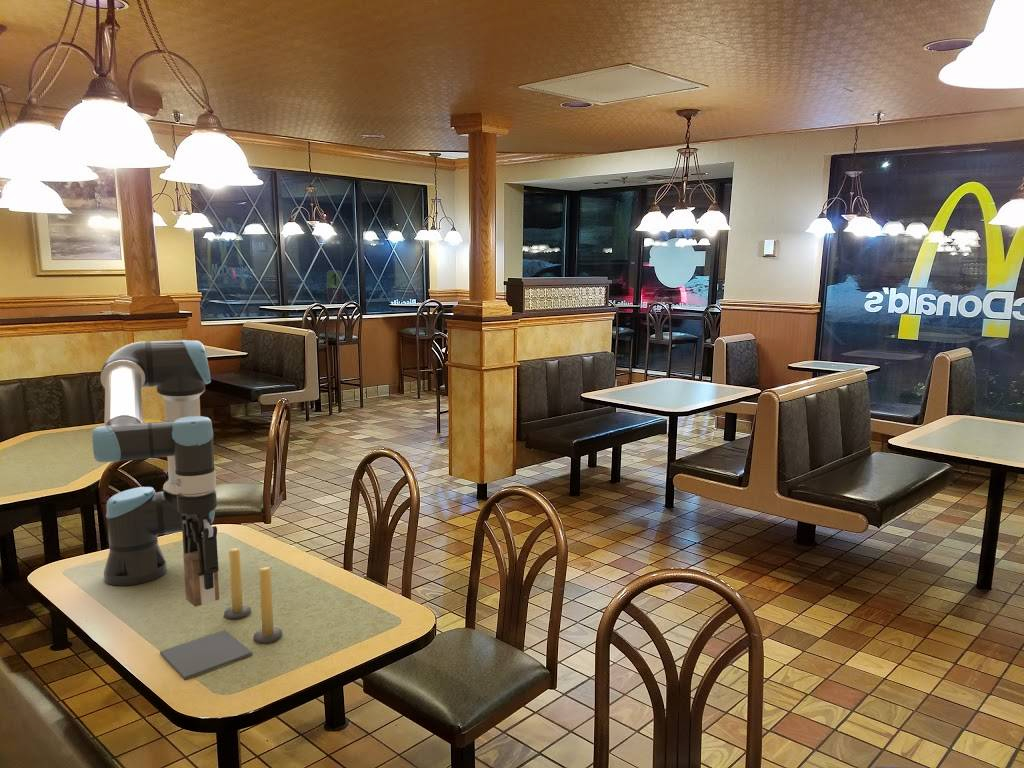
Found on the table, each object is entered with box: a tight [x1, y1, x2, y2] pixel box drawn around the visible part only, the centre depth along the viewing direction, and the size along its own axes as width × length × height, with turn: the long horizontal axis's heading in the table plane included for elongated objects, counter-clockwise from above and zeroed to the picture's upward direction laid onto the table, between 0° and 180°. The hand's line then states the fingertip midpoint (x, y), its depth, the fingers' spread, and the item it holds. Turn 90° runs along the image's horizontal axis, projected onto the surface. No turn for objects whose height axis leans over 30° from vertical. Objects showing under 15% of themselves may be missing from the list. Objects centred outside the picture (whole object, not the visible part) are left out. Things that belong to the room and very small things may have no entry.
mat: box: [159, 629, 253, 681], centre depth 152 cm, size 14×14×1 cm
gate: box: [223, 547, 283, 645], centre depth 164 cm, size 22×6×16 cm, turn 44°
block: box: [182, 551, 220, 608], centre depth 150 cm, size 5×5×10 cm
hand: (202, 597), depth 151 cm, fingers closed on block, 5 cm apart
